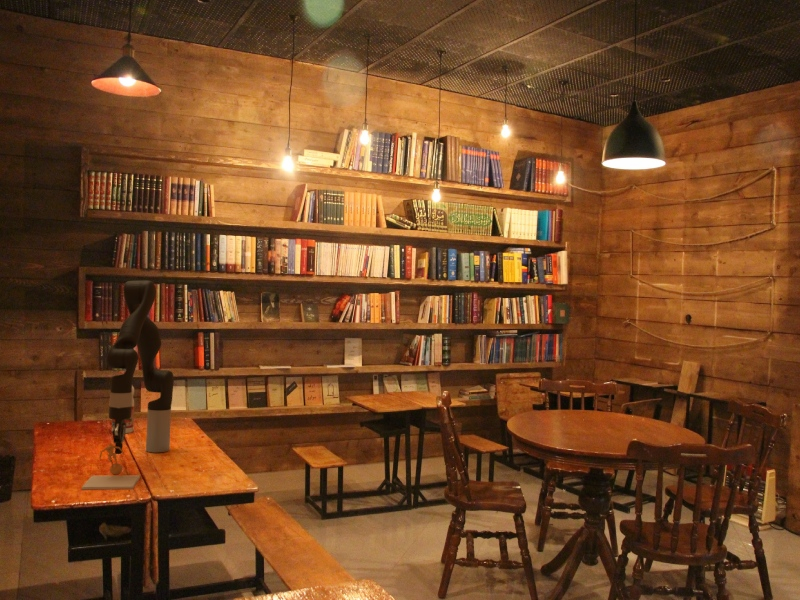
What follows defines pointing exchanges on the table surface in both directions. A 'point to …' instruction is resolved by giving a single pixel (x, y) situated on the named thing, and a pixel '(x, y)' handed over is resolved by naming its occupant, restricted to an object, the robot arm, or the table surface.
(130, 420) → the fruit juice
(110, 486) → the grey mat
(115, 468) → the figurine
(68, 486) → the table surface
